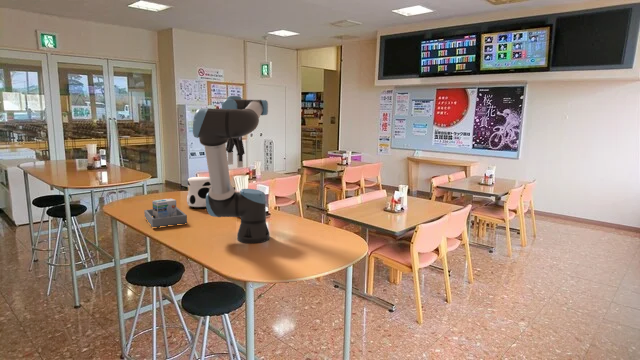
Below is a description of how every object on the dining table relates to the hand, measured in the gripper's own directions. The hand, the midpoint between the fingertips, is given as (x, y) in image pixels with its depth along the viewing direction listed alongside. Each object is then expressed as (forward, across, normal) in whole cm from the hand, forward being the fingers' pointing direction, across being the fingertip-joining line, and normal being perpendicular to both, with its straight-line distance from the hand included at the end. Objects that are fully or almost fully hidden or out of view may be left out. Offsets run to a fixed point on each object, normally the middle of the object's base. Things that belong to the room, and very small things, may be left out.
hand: (235, 166), depth 207 cm
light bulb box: (+30, +18, +33) cm, 48 cm away
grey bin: (+31, +18, +33) cm, 49 cm away
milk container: (+31, +43, +6) cm, 53 cm away
